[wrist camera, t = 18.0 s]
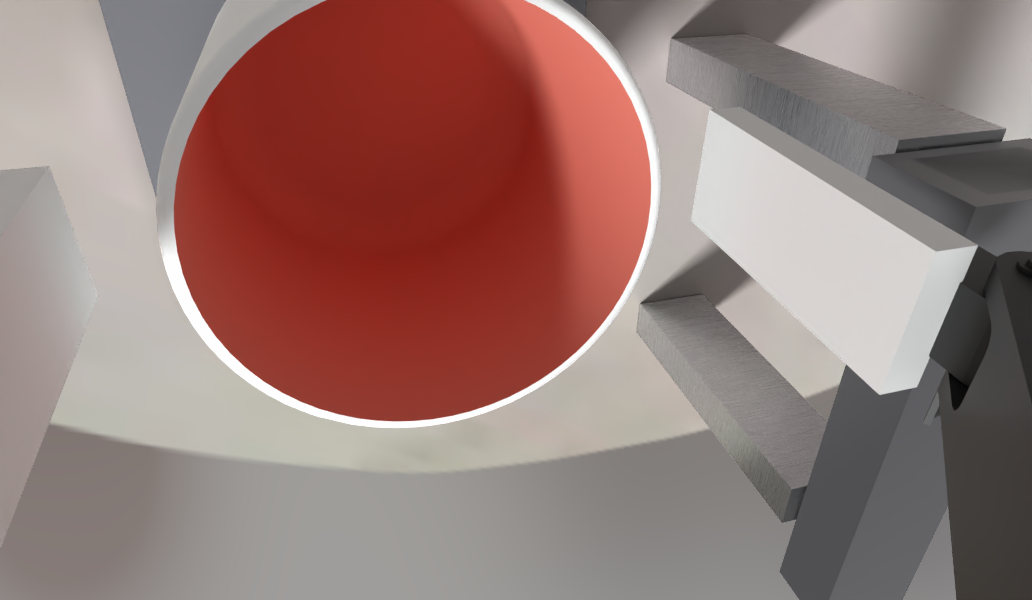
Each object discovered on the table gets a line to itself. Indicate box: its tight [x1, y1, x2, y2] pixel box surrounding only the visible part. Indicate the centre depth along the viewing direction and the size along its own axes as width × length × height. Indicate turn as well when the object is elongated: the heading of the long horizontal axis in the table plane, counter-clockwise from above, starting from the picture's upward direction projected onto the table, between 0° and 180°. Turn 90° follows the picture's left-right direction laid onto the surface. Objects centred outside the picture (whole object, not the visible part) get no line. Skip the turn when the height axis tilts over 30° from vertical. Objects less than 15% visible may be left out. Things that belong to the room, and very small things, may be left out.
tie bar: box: [780, 138, 1032, 600], centre depth 18 cm, size 14×4×3 cm, turn 0°
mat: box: [99, 0, 586, 195], centre depth 22 cm, size 14×14×1 cm
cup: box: [156, 0, 661, 428], centre depth 18 cm, size 10×10×10 cm
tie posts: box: [637, 34, 1006, 523], centre depth 20 cm, size 26×3×11 cm, turn 0°
